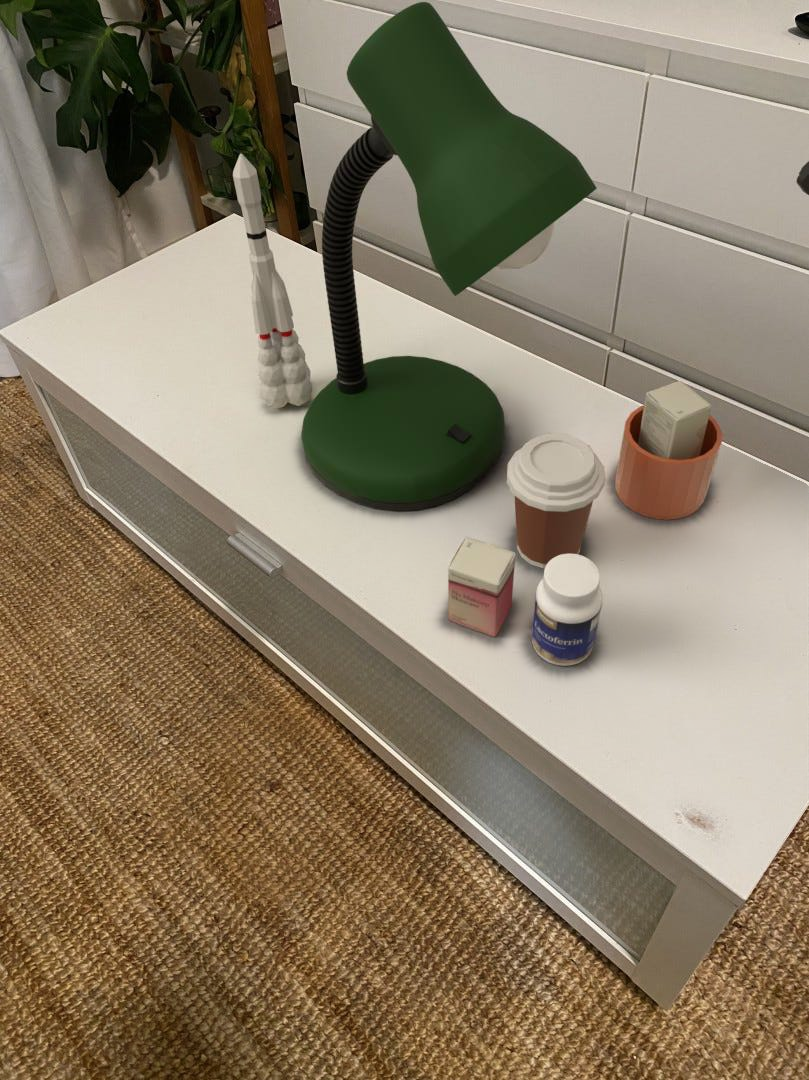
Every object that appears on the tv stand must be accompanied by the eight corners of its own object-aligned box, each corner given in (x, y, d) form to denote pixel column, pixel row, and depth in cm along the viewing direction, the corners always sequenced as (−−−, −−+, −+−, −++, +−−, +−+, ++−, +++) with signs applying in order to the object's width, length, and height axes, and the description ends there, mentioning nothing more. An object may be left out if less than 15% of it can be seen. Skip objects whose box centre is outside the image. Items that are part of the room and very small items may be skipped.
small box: (447, 621, 82) (445, 567, 76) (465, 588, 84) (464, 534, 78) (496, 639, 80) (498, 585, 74) (513, 605, 82) (516, 551, 76)
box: (693, 489, 91) (715, 407, 82) (659, 503, 90) (678, 421, 81) (662, 459, 94) (680, 377, 86) (629, 472, 93) (644, 391, 85)
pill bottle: (523, 657, 78) (528, 589, 71) (540, 610, 82) (547, 541, 74) (585, 675, 77) (597, 608, 69) (600, 627, 80) (613, 557, 73)
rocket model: (330, 392, 106) (293, 148, 84) (290, 425, 102) (240, 178, 80) (286, 372, 109) (240, 132, 87) (246, 403, 105) (186, 160, 83)
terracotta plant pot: (717, 475, 93) (734, 417, 87) (688, 531, 87) (704, 474, 81) (634, 448, 96) (644, 391, 90) (601, 500, 91) (610, 444, 85)
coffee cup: (562, 594, 83) (573, 507, 74) (485, 551, 87) (487, 464, 78) (611, 537, 87) (627, 450, 78) (536, 500, 92) (543, 412, 83)
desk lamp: (603, 451, 96) (674, -7, 63) (486, 577, 85) (498, 101, 51) (390, 357, 110) (356, -59, 76) (266, 455, 99) (163, 17, 65)
